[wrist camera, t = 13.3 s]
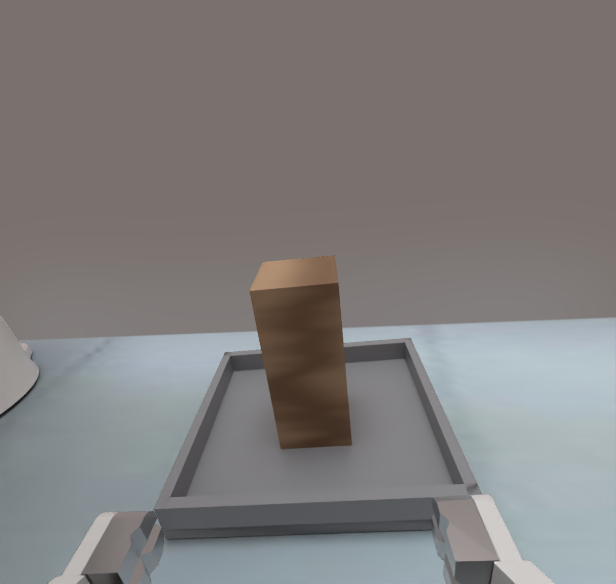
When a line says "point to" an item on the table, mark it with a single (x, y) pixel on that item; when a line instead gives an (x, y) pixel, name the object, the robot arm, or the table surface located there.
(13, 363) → the robot arm
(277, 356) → the walnut block
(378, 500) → the charcoal tray
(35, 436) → the table surface
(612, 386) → the table surface
